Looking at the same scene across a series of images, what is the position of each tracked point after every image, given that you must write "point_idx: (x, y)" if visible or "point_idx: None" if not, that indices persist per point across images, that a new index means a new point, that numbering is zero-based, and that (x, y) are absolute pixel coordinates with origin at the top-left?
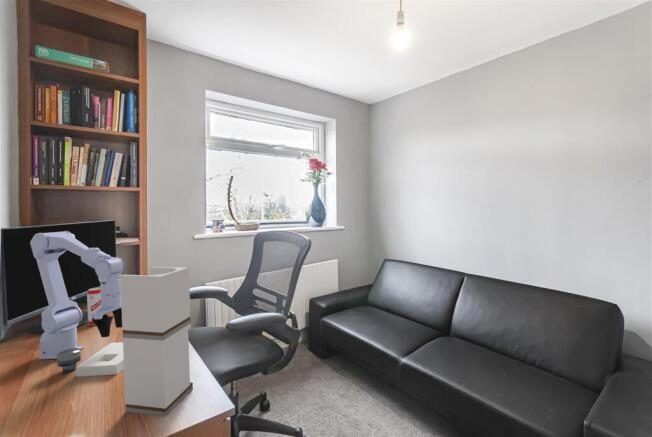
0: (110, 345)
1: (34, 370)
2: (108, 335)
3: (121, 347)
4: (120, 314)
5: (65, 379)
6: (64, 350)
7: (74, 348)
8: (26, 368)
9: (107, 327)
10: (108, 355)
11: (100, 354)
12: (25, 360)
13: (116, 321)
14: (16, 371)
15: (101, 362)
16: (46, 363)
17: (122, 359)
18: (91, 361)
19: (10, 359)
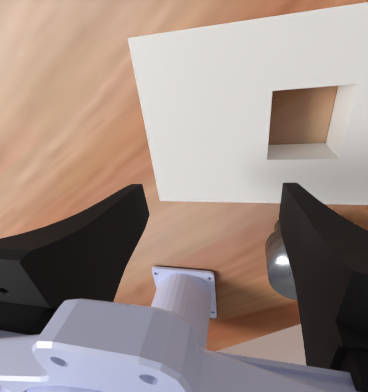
0: (181, 188)
1: (269, 299)
2: (298, 184)
3: (201, 127)
4: (97, 256)
5: (360, 206)
6: (284, 295)
7: (274, 276)
8: (255, 314)
9: (347, 223)
10: (267, 142)
11: (263, 178)
12: (216, 330)
13: (132, 239)
14: (266, 322)
15: (359, 121)
16: (235, 294)
17: (365, 8)
18: (328, 175)
19: (209, 348)
